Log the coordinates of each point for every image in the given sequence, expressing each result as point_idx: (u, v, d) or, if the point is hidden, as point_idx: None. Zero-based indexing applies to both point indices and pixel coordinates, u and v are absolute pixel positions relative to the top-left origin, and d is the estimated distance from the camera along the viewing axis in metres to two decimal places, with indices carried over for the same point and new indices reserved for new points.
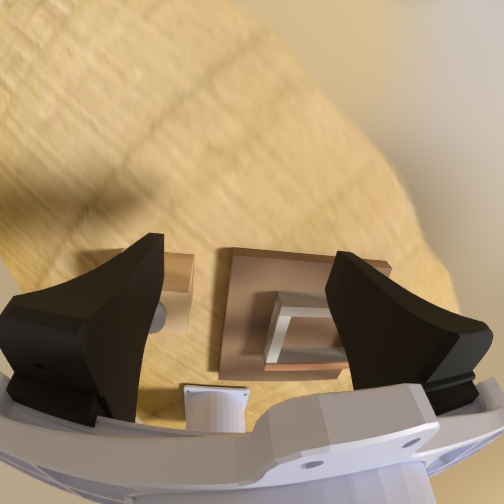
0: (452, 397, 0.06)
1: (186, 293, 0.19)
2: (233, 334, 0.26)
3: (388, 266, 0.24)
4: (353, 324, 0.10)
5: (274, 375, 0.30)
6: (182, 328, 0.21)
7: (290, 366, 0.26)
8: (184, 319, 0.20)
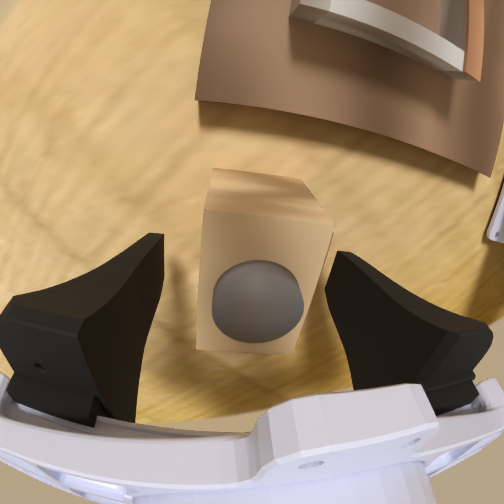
0: (452, 397, 0.06)
1: (205, 211, 0.08)
2: (396, 119, 0.11)
3: None
4: (353, 324, 0.10)
5: (498, 75, 0.09)
6: (313, 232, 0.09)
7: (474, 28, 0.06)
8: (286, 226, 0.09)
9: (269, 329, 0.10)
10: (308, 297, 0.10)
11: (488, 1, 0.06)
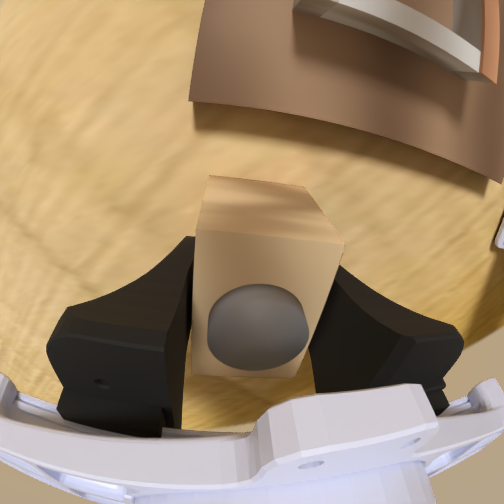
0: None
1: (198, 231, 0.07)
2: (408, 122, 0.10)
3: None
4: None
5: None
6: (321, 253, 0.08)
7: (489, 27, 0.05)
8: (290, 247, 0.08)
9: (270, 357, 0.09)
10: (313, 321, 0.09)
11: None
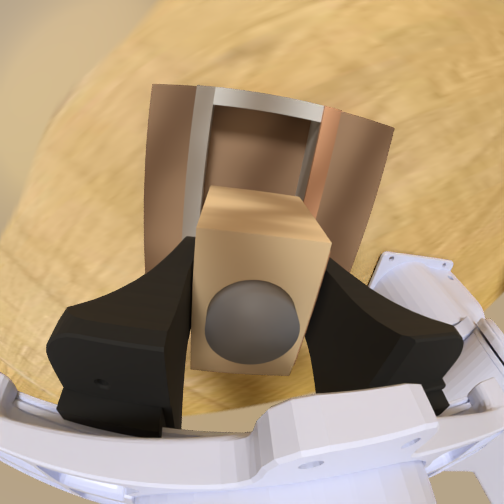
0: None
1: (198, 230, 0.08)
2: None
3: None
4: (316, 324, 0.10)
5: (352, 227, 0.21)
6: (309, 251, 0.09)
7: None
8: (281, 244, 0.09)
9: (264, 350, 0.09)
10: (305, 318, 0.10)
11: (355, 163, 0.18)
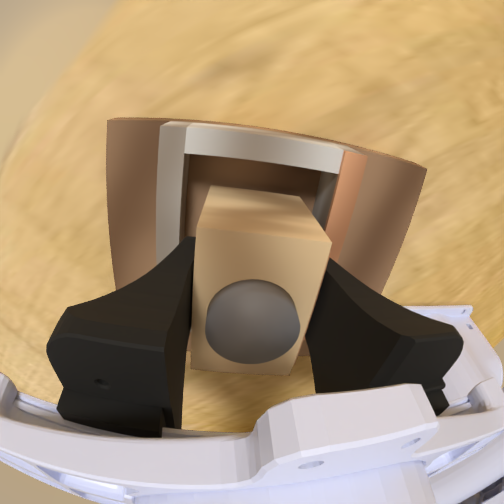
0: None
1: (198, 229, 0.08)
2: None
3: None
4: (316, 324, 0.10)
5: None
6: (310, 251, 0.09)
7: None
8: (281, 244, 0.09)
9: (264, 350, 0.09)
10: (305, 317, 0.10)
11: (377, 216, 0.14)
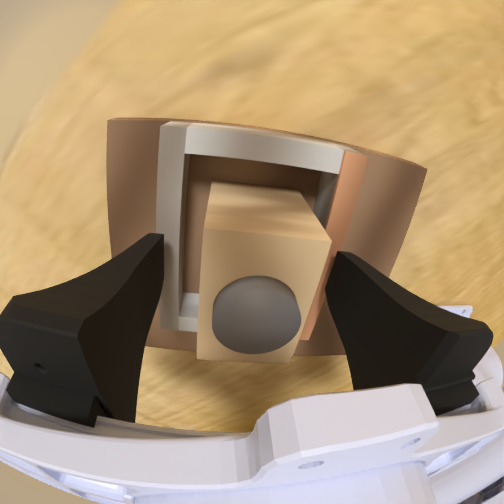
0: (452, 396, 0.06)
1: (205, 230, 0.09)
2: None
3: None
4: (353, 324, 0.10)
5: None
6: (311, 249, 0.09)
7: None
8: (284, 243, 0.09)
9: (267, 341, 0.10)
10: (305, 310, 0.10)
11: (378, 216, 0.14)
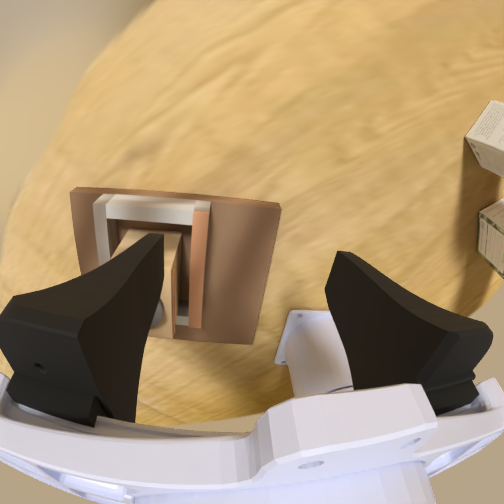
0: (452, 397, 0.06)
1: None
2: None
3: None
4: (353, 324, 0.10)
5: (249, 295, 0.24)
6: None
7: (193, 305, 0.22)
8: None
9: None
10: (169, 306, 0.18)
11: (243, 245, 0.22)
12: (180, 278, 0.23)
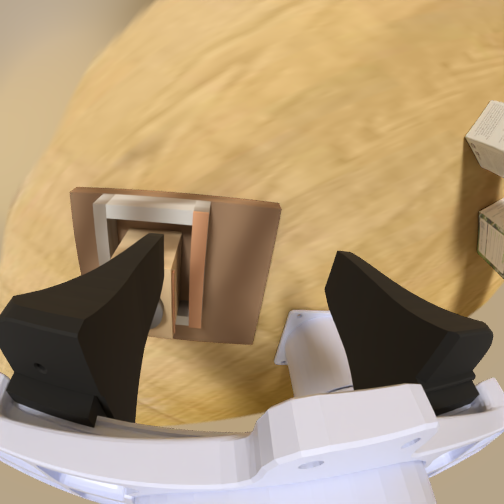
0: (452, 397, 0.06)
1: None
2: None
3: None
4: (353, 324, 0.10)
5: (249, 295, 0.24)
6: None
7: (193, 305, 0.22)
8: None
9: None
10: (169, 306, 0.18)
11: (243, 245, 0.22)
12: (180, 278, 0.23)
